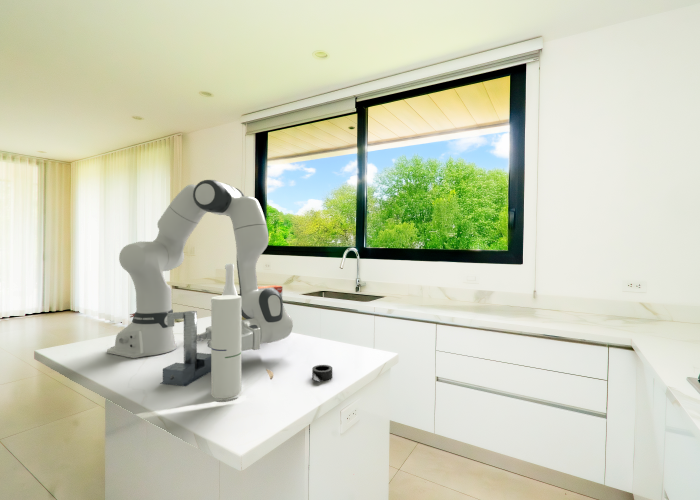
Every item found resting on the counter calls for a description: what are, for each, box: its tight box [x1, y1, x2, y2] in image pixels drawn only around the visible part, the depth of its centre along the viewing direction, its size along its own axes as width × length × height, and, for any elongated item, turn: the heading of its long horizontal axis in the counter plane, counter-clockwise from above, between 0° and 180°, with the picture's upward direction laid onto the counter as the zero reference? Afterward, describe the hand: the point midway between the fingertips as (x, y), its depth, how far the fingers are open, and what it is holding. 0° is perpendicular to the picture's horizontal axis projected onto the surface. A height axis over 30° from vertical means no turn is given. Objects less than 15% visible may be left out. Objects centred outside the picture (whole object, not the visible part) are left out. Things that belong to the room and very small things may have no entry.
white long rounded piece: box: [221, 263, 243, 320], centre depth 147 cm, size 10×10×30 cm
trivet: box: [265, 368, 274, 380], centre depth 100 cm, size 11×11×1 cm
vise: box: [159, 352, 211, 387], centre depth 99 cm, size 14×8×5 cm, turn 167°
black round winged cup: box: [311, 364, 333, 383], centre depth 101 cm, size 8×10×3 cm
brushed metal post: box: [167, 310, 198, 369], centre depth 98 cm, size 7×3×18 cm, turn 112°
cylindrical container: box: [210, 294, 242, 403], centre depth 88 cm, size 7×7×25 cm
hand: (201, 341), depth 101 cm, fingers open, 8 cm apart
